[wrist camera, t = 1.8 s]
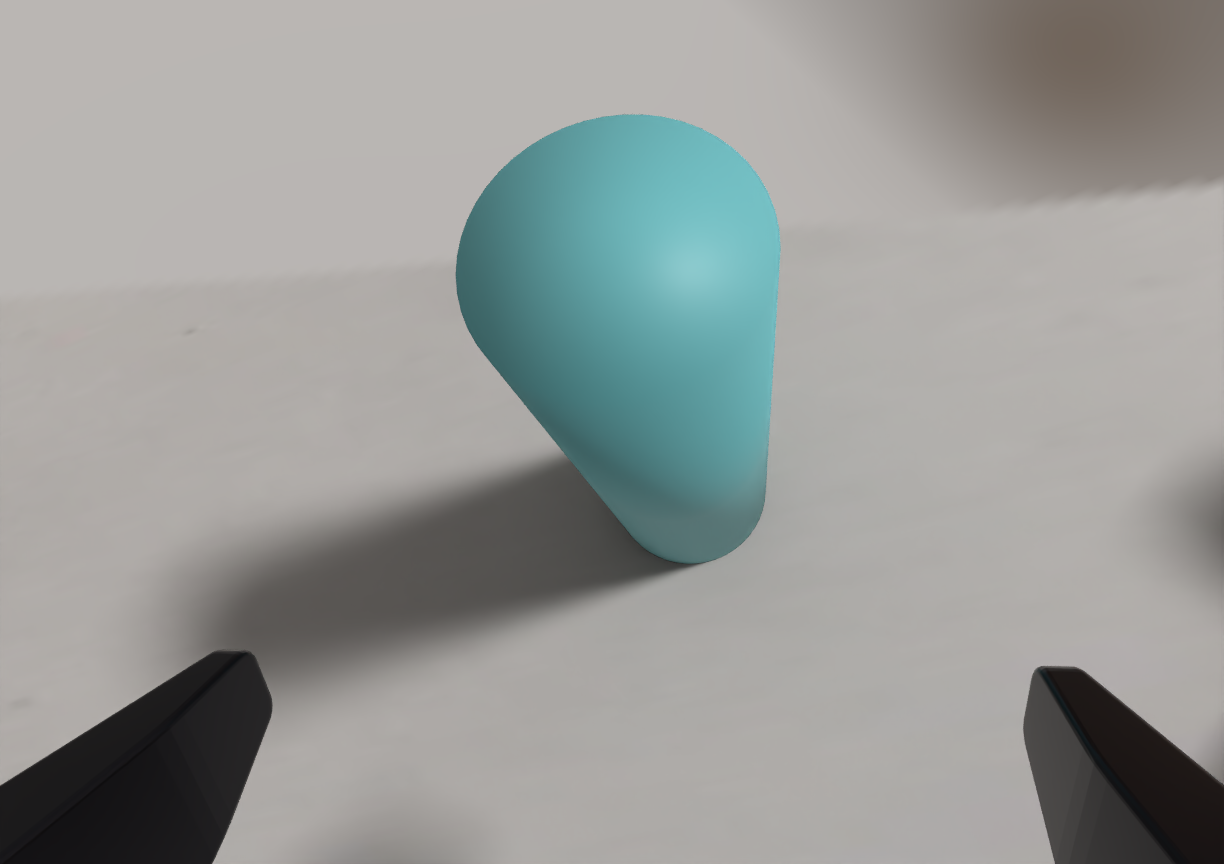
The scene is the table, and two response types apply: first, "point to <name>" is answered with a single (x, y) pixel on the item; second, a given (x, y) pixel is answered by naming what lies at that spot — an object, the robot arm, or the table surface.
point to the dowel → (636, 319)
